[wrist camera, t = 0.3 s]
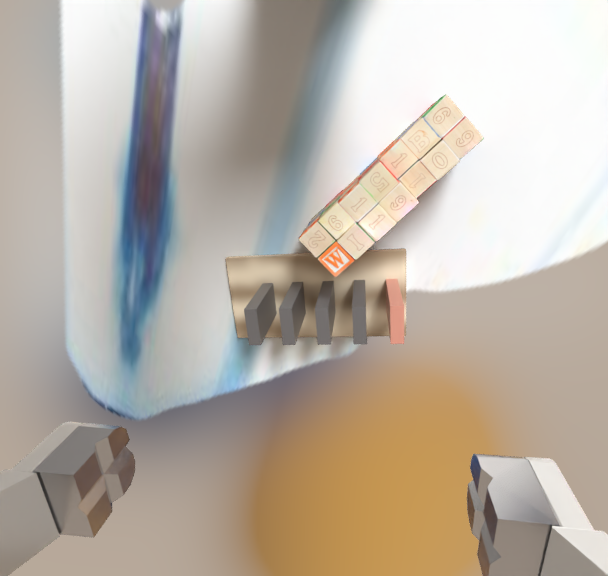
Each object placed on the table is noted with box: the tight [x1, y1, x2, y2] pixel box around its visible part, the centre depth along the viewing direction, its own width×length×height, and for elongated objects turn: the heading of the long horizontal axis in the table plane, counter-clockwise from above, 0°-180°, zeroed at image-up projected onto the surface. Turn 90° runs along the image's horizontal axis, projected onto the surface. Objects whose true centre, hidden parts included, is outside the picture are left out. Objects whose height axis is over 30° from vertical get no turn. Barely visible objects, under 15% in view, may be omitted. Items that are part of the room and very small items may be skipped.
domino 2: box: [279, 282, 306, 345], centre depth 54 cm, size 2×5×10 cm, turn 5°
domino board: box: [226, 249, 406, 338], centre depth 59 cm, size 13×26×1 cm, turn 95°
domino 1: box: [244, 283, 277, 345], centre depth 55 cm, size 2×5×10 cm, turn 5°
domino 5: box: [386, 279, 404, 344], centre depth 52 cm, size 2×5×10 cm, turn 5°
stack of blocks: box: [299, 95, 484, 277], centre depth 47 cm, size 21×6×12 cm, turn 135°
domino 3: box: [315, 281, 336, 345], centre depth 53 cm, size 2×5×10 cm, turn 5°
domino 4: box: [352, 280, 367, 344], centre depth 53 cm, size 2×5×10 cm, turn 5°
